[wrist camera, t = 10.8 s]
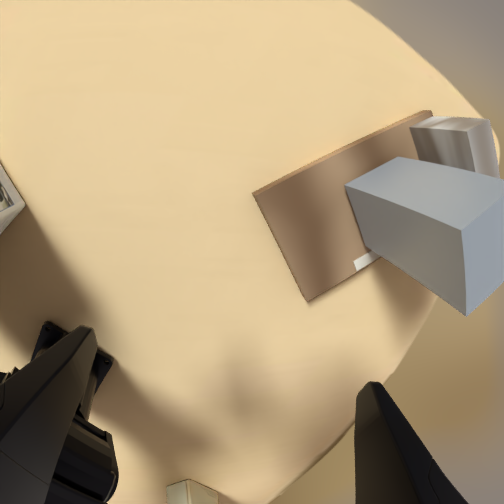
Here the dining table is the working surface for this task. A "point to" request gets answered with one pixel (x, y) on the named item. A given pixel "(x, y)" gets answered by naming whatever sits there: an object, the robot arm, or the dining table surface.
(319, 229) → the block on stand
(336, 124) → the dining table surface
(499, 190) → the blue-gray square block
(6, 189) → the light bulb box
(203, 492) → the skincare box
